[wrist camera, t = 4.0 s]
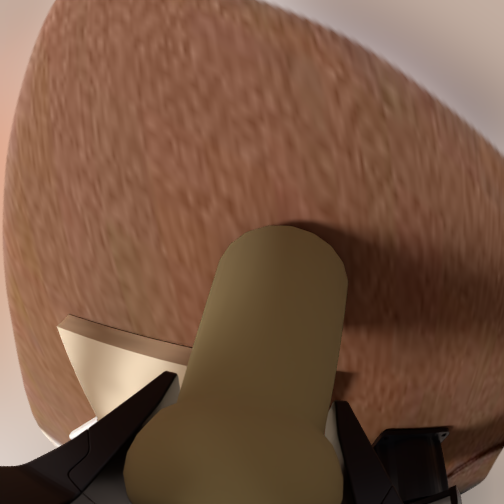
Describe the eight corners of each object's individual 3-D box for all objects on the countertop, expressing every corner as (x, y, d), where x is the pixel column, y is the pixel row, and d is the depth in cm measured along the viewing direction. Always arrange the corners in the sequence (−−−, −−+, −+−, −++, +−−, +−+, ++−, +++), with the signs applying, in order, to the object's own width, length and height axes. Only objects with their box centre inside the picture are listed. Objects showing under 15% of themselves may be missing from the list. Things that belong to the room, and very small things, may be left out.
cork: (351, 333, 14) (350, 565, 5) (234, 341, 16) (158, 540, 6) (341, 215, 12) (372, 528, 2) (200, 235, 14) (32, 453, 4)
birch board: (331, 370, 17) (332, 389, 16) (293, 460, 23) (292, 474, 22) (68, 314, 19) (56, 326, 18) (108, 415, 25) (102, 426, 24)
